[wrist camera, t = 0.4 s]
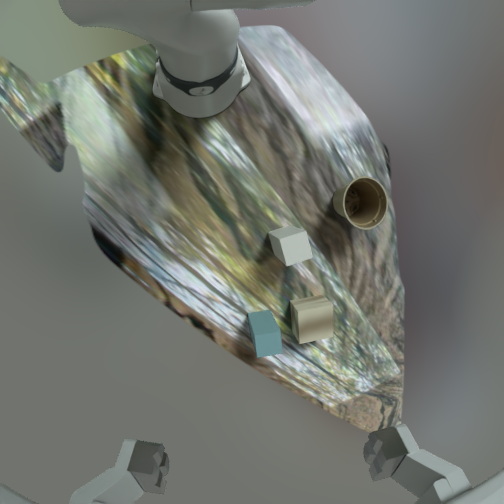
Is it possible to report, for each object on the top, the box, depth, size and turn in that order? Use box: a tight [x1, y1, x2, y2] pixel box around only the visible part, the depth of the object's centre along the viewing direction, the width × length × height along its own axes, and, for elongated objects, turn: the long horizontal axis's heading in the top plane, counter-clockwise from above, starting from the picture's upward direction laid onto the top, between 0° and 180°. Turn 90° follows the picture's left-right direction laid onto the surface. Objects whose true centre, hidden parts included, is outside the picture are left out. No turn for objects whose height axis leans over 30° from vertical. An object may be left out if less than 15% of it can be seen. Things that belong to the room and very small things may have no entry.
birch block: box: [290, 295, 333, 344], centre depth 56 cm, size 7×7×6 cm
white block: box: [268, 225, 313, 266], centre depth 50 cm, size 4×4×10 cm
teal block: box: [248, 310, 282, 358], centre depth 53 cm, size 4×4×10 cm
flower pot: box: [333, 176, 388, 230], centre depth 51 cm, size 9×9×9 cm
